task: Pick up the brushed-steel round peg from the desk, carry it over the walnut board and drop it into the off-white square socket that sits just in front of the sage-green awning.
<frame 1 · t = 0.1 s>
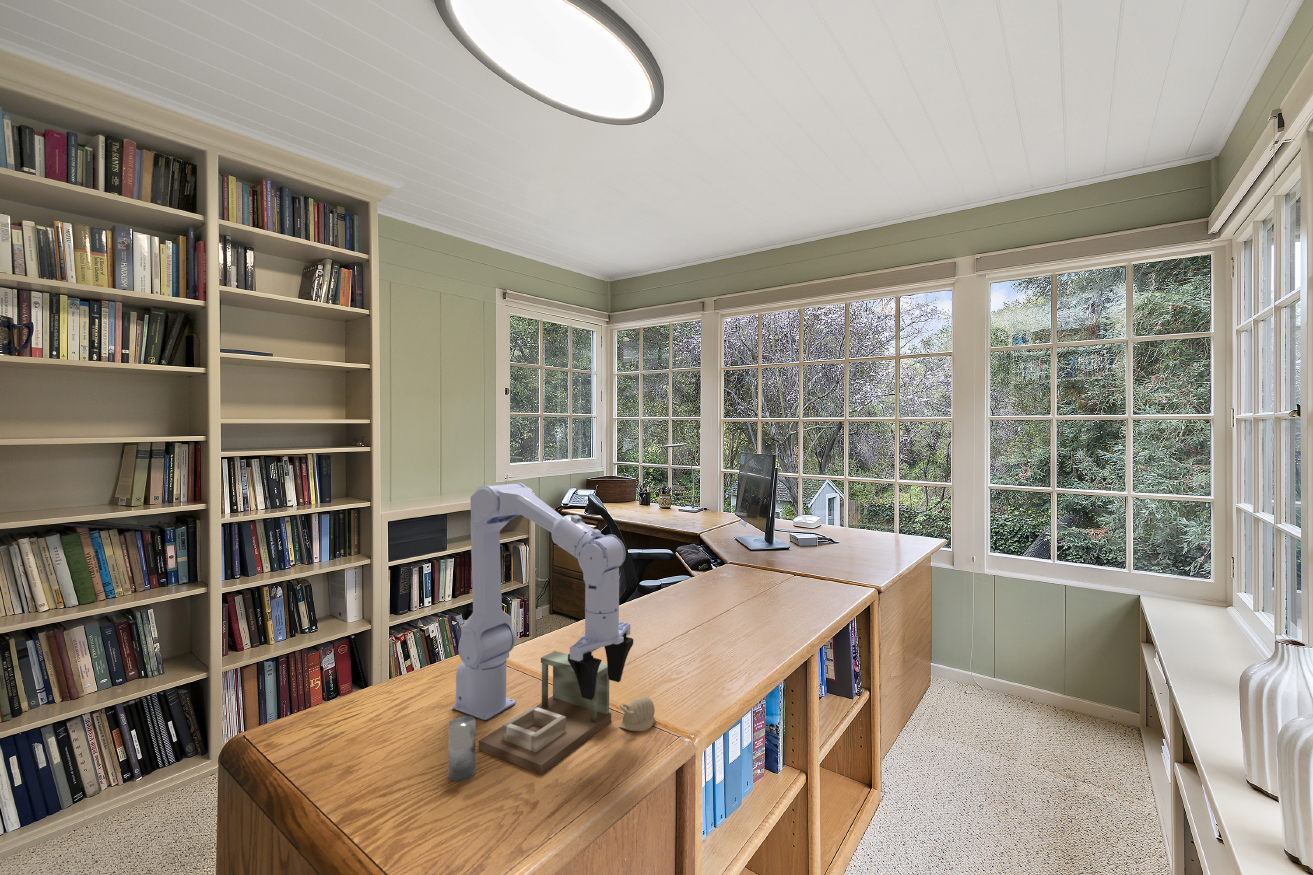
hand: (601, 688, 92), 10 cm above the table, tool pointing down, fingers open, 7 cm apart
steel peg: (462, 773, 85), on the table
decorative ornament: (636, 727, 100), on the table
socket stand: (548, 734, 97), on the table
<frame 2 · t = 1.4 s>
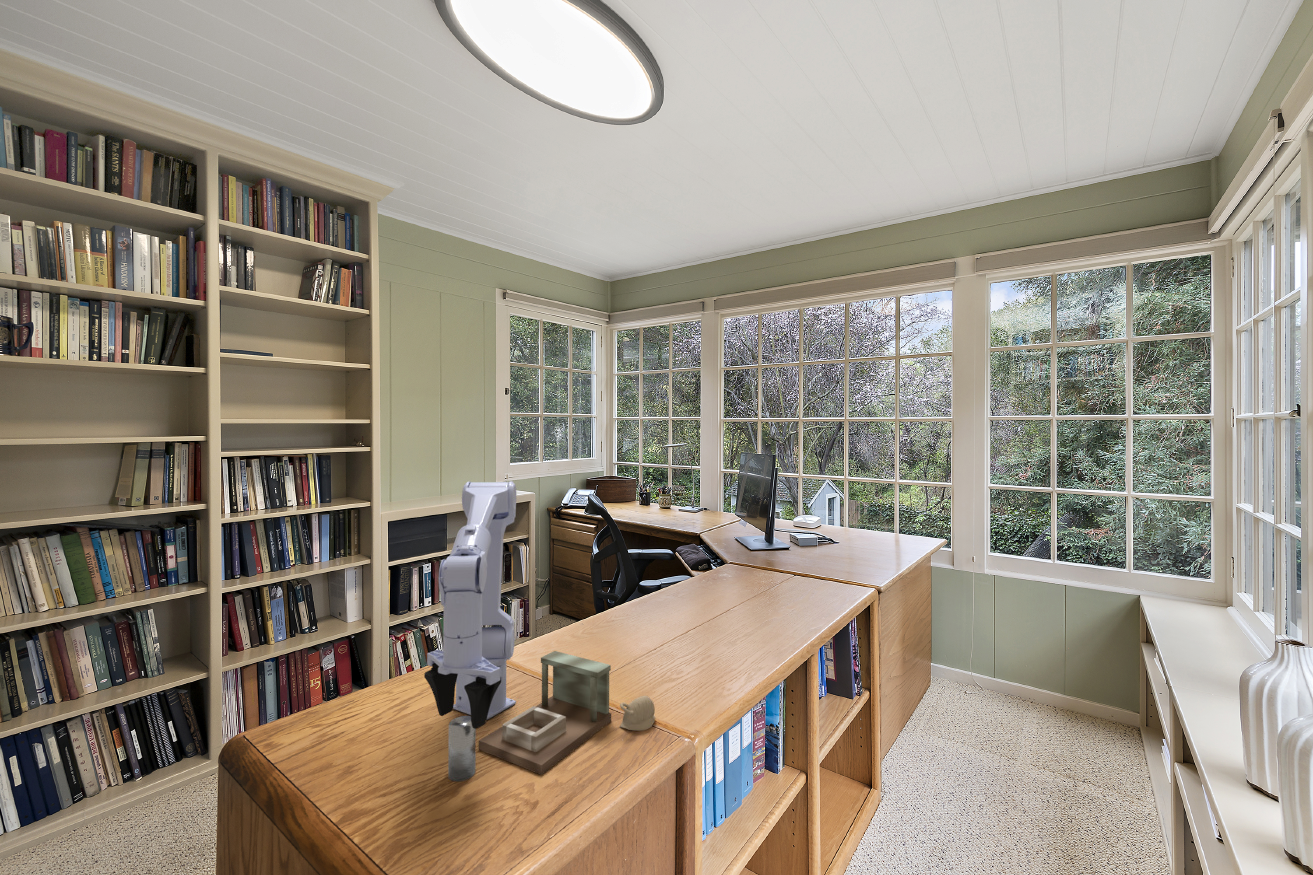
hand: (462, 719, 85), 8 cm above the table, tool pointing down, fingers open, 7 cm apart
nothing on the table moved.
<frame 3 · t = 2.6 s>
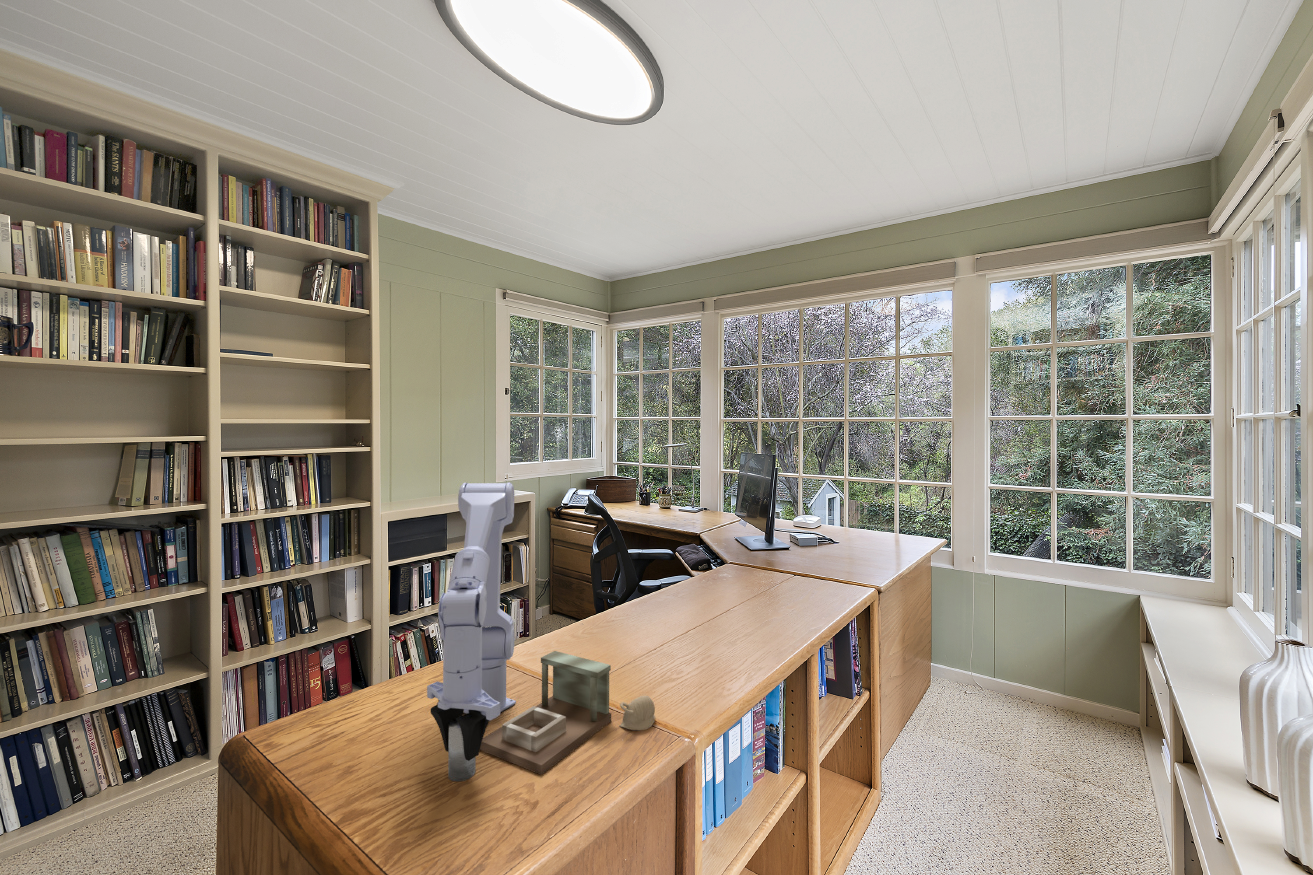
hand: (462, 752, 85), 3 cm above the table, tool pointing down, fingers closed on steel peg, 4 cm apart
steel peg: (462, 773, 85), on the table, touching gripper
everything else where it was.
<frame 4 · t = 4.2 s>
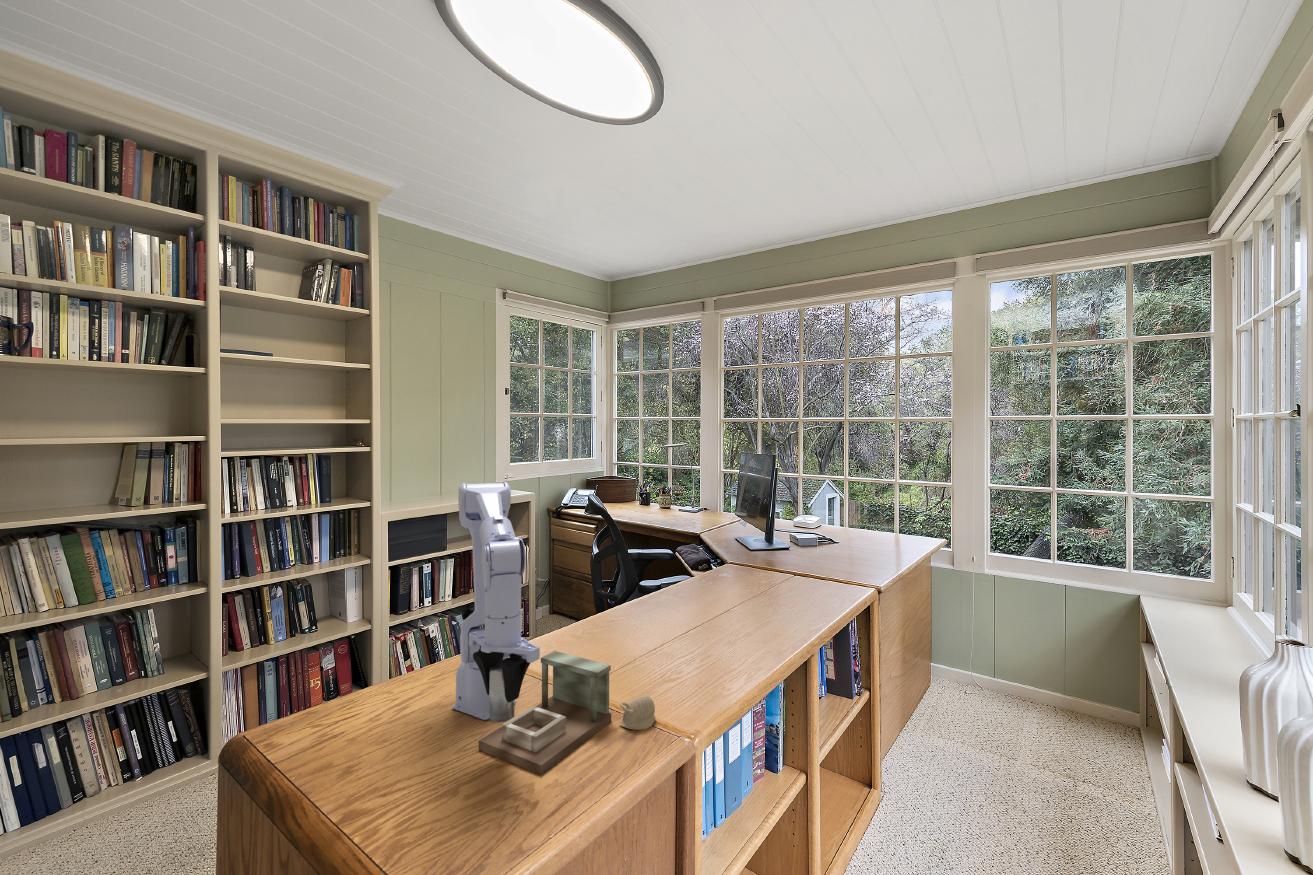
hand: (502, 695, 90), 10 cm above the table, tool pointing down, fingers closed on steel peg, 4 cm apart
steel peg: (501, 715, 90), point 7 cm above the table, touching gripper
everything else where it was.
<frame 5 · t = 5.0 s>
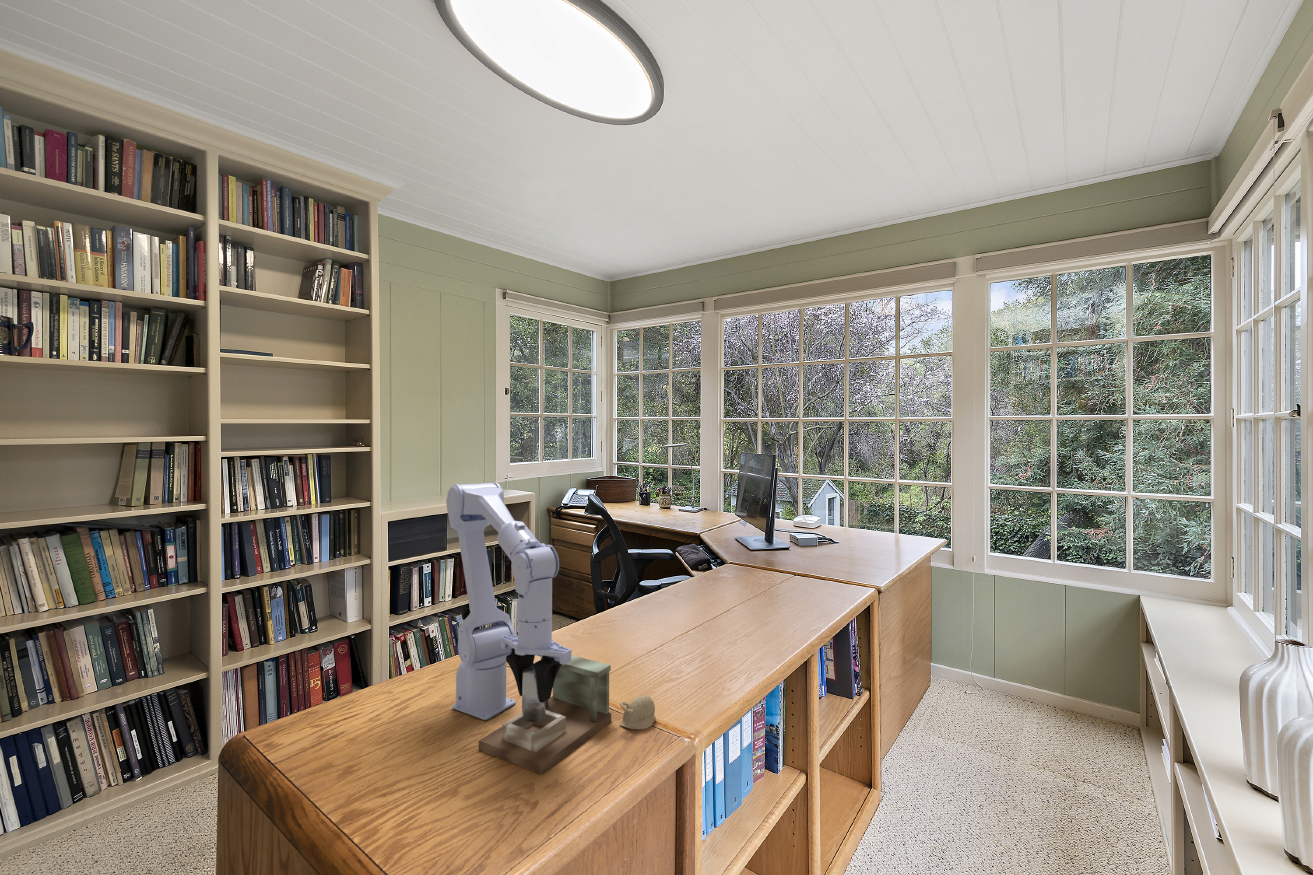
hand: (534, 696, 94), 8 cm above the table, tool pointing down, fingers closed on steel peg, 4 cm apart
steel peg: (534, 715, 93), point 5 cm above the table, touching gripper
everything else where it was.
when the fingers open (5 cm above the table, at t = 5.9 s): steel peg stays where it is, resting on socket stand.
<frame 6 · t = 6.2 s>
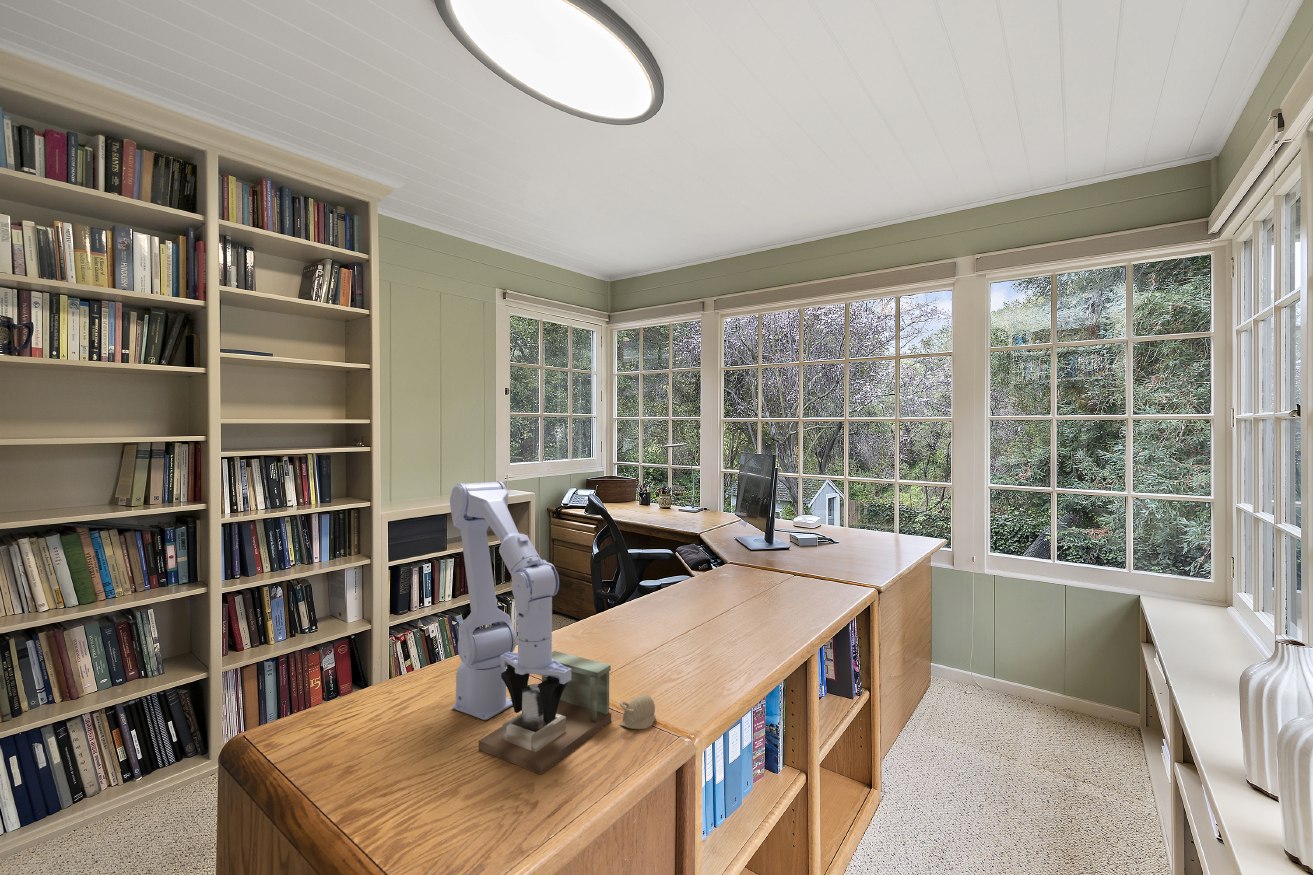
hand: (534, 715, 94), 5 cm above the table, tool pointing down, fingers open, 6 cm apart
steel peg: (533, 735, 93), point 2 cm above the table, touching socket stand
everything else where it was.
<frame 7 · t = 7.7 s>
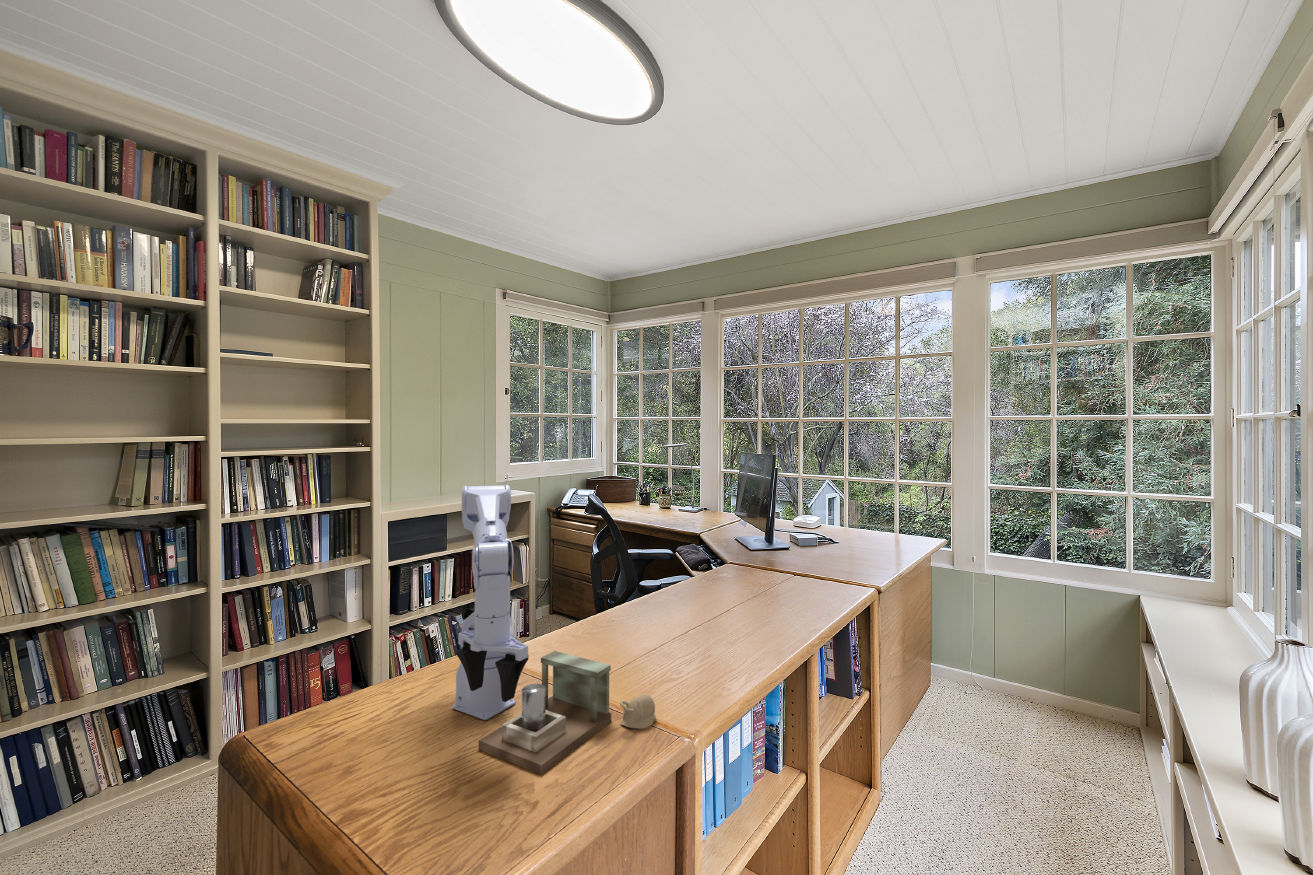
hand: (492, 693, 92), 9 cm above the table, tool pointing down, fingers open, 7 cm apart
nothing on the table moved.
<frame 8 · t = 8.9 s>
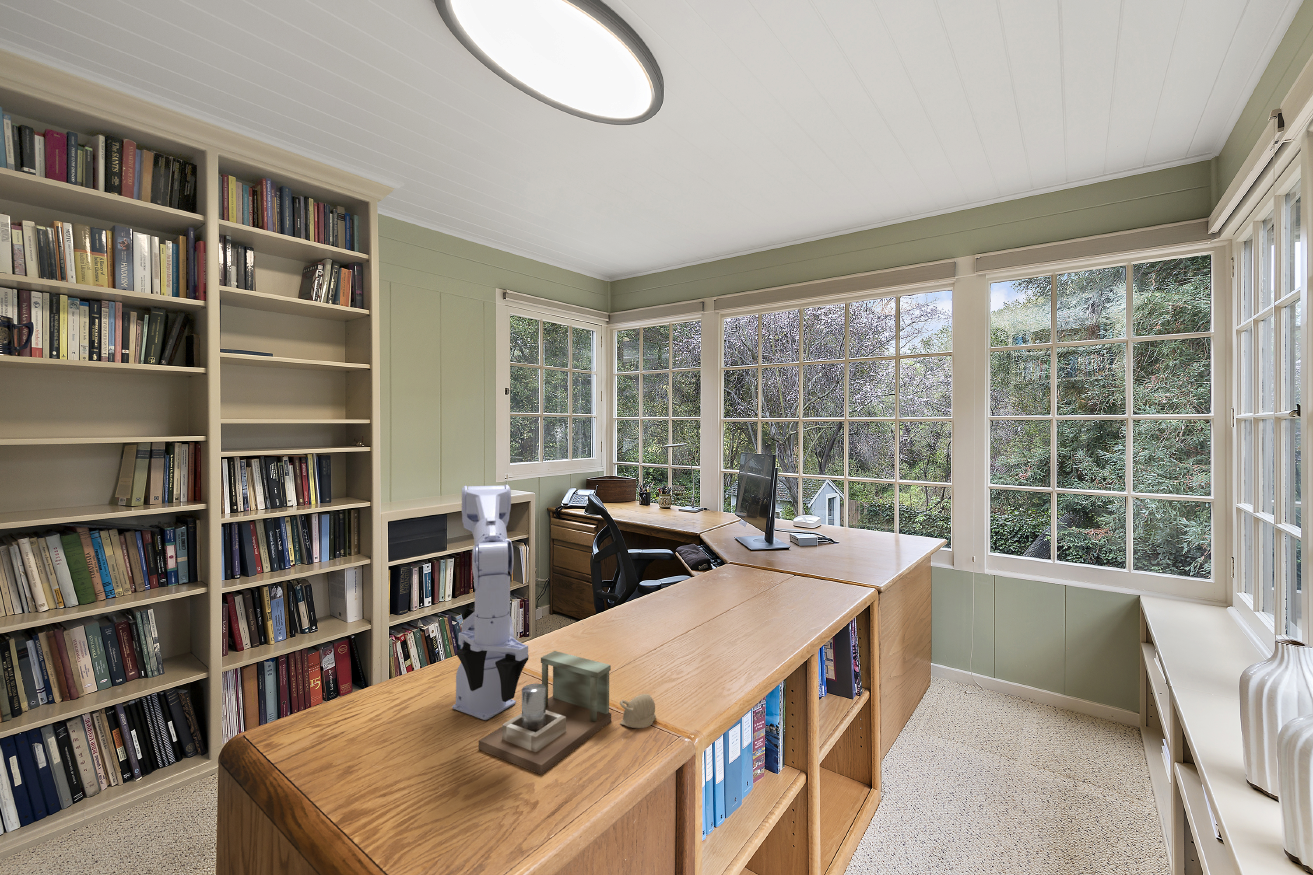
hand: (492, 693, 92), 9 cm above the table, tool pointing down, fingers open, 7 cm apart
at the end: steel peg 0.2 cm from the target spot, point 1.5 cm above the table; steel peg tilted 1°; the gripper is holding nothing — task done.
